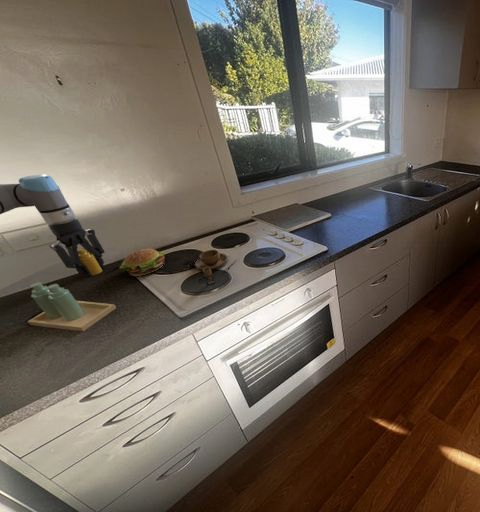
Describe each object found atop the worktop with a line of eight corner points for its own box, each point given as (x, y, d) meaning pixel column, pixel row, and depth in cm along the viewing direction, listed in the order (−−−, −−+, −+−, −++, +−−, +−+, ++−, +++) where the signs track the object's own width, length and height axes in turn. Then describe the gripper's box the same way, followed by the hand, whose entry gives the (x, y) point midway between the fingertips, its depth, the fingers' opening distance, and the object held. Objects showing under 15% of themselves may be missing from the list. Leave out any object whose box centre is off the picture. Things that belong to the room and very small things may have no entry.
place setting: (240, 257, 124) (237, 245, 121) (214, 284, 107) (209, 271, 104) (201, 256, 125) (197, 244, 122) (169, 283, 108) (163, 270, 105)
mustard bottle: (86, 279, 111) (68, 252, 105) (98, 272, 115) (81, 246, 109) (96, 280, 110) (79, 253, 104) (108, 273, 114) (92, 246, 108)
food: (141, 260, 122) (132, 244, 118) (174, 260, 122) (166, 243, 118) (115, 279, 111) (104, 261, 106) (151, 278, 110) (142, 261, 106)
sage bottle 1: (44, 318, 91) (20, 288, 85) (60, 309, 95) (38, 279, 89) (57, 320, 91) (33, 289, 85) (72, 310, 95) (50, 280, 89)
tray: (31, 326, 89) (27, 321, 88) (67, 303, 98) (64, 299, 97) (84, 332, 87) (80, 327, 86) (116, 308, 96) (114, 304, 95)
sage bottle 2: (61, 320, 91) (37, 290, 84) (76, 310, 95) (54, 280, 88) (73, 321, 90) (50, 291, 84) (88, 311, 94) (67, 282, 88)
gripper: (42, 232, 92) (81, 290, 104) (96, 211, 107) (125, 264, 119) (22, 231, 93) (64, 288, 105) (79, 210, 108) (110, 263, 120)
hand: (97, 275), depth 112 cm, fingers closed on mustard bottle, 5 cm apart
